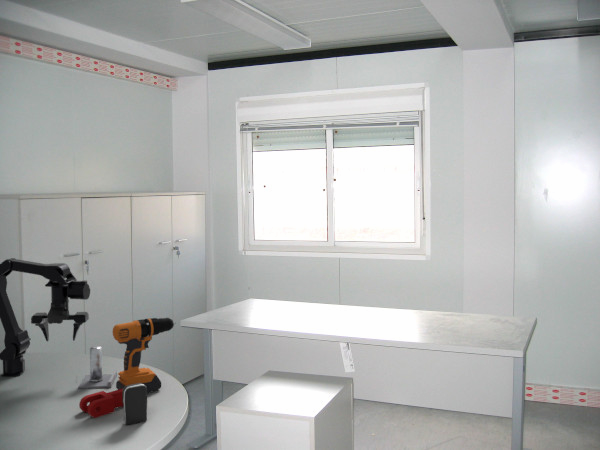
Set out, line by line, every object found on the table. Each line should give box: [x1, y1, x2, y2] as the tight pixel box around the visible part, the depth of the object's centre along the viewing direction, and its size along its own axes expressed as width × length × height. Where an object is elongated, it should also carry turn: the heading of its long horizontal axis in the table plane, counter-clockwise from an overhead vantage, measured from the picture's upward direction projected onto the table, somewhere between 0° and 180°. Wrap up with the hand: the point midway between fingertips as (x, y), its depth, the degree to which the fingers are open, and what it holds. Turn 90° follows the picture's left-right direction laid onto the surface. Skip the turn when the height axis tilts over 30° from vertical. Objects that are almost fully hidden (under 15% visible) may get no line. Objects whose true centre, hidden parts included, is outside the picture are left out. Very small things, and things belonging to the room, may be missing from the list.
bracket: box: [77, 370, 118, 390], centre depth 211 cm, size 11×12×2 cm
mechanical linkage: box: [78, 388, 124, 419], centre depth 188 cm, size 16×7×5 cm, turn 136°
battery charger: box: [122, 383, 148, 426], centre depth 178 cm, size 7×4×11 cm, turn 125°
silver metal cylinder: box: [89, 345, 103, 383], centre depth 210 cm, size 4×4×12 cm
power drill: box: [112, 317, 176, 394], centre depth 203 cm, size 22×7×25 cm, turn 124°
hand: (60, 340), depth 216 cm, fingers open, 9 cm apart
